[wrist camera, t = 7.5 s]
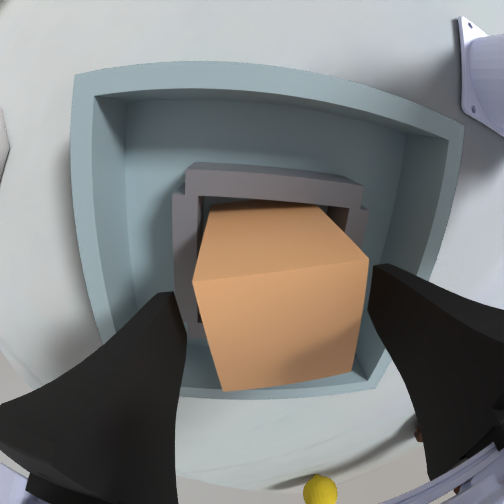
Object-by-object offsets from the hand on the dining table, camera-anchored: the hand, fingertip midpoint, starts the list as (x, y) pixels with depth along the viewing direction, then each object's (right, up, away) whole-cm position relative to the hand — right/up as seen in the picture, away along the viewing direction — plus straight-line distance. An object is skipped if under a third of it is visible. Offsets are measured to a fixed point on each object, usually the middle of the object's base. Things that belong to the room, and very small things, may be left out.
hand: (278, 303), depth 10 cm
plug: (0, +2, +4) cm, 5 cm away
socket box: (0, +3, +5) cm, 6 cm away
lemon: (+10, -35, +24) cm, 44 cm away
